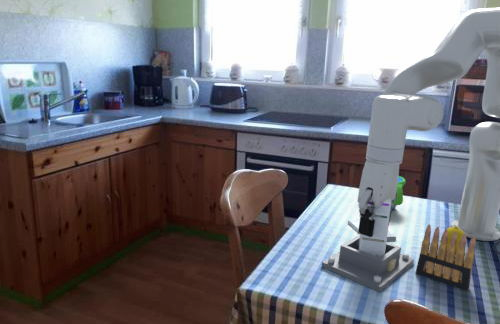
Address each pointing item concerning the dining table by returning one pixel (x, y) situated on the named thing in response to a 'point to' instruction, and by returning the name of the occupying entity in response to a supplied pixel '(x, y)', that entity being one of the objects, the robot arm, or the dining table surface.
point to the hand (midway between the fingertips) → (374, 229)
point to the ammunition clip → (446, 259)
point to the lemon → (450, 233)
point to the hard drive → (356, 226)
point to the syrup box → (377, 231)
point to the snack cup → (399, 193)
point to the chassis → (368, 264)
